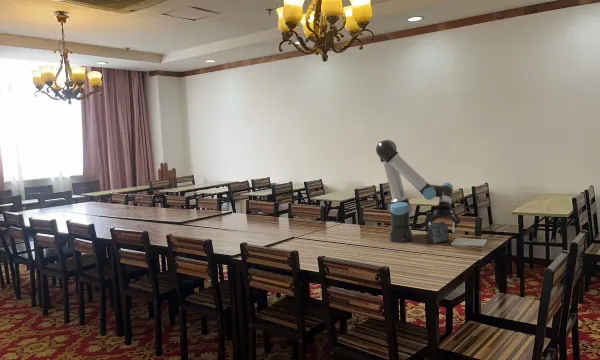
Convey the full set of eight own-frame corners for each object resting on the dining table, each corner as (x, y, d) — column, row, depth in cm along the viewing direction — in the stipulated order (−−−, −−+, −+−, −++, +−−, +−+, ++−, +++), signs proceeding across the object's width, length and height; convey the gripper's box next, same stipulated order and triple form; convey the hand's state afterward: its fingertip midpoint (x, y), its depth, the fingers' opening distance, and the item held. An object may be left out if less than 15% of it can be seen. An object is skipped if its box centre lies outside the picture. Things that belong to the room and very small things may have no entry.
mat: (451, 245, 281) (451, 243, 281) (456, 239, 293) (456, 238, 293) (483, 246, 272) (483, 244, 272) (487, 241, 284) (487, 239, 284)
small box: (444, 236, 295) (443, 221, 292) (449, 240, 289) (448, 224, 286) (428, 240, 294) (427, 224, 291) (433, 244, 287) (431, 228, 284)
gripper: (466, 207, 297) (463, 235, 285) (425, 208, 309) (421, 235, 298) (464, 200, 292) (461, 228, 280) (423, 201, 304) (418, 228, 293)
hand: (440, 232), depth 289 cm, fingers open, 14 cm apart
